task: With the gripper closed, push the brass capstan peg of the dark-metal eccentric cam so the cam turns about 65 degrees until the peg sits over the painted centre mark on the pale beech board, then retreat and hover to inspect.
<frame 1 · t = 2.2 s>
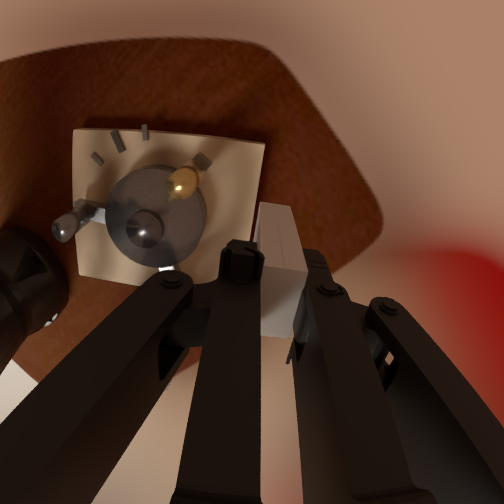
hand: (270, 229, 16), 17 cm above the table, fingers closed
stand: (160, 211, 34), on the table
cam capstan: (153, 218, 28), point 6 cm above the table, hinge at 0.0°
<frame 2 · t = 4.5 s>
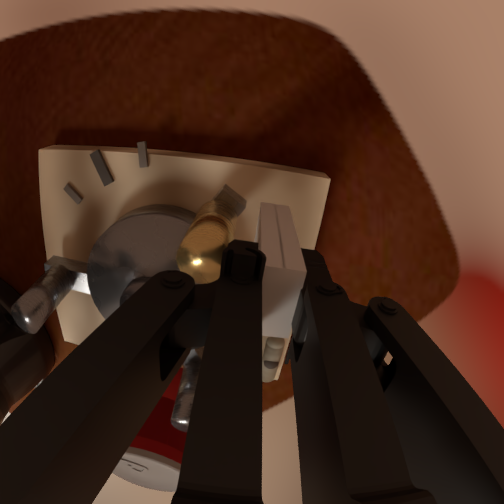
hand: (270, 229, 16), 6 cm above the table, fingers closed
stand: (168, 266, 24), on the table
cam capstan: (159, 293, 18), point 6 cm above the table, hinge at 3.2°, touching gripper
canned food: (169, 380, 30), on the table
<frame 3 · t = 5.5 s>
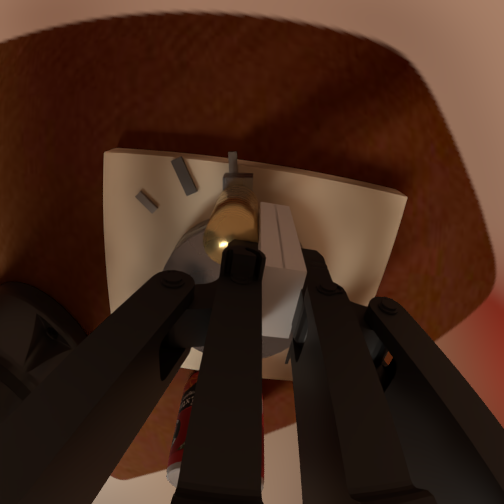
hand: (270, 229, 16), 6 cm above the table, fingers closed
stand: (240, 277, 24), on the table
cam capstan: (236, 301, 18), point 6 cm above the table, hinge at 42.5°, touching gripper
canned food: (224, 388, 30), on the table
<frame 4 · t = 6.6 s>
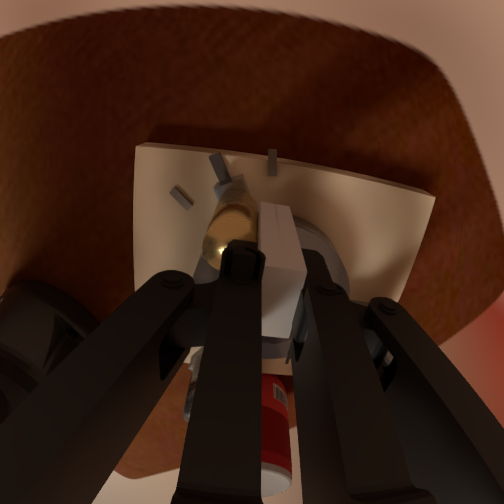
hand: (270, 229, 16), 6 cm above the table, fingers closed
stand: (271, 274, 24), on the table
cam capstan: (266, 300, 18), point 6 cm above the table, hinge at 62.1°, touching gripper
canned food: (246, 386, 30), on the table
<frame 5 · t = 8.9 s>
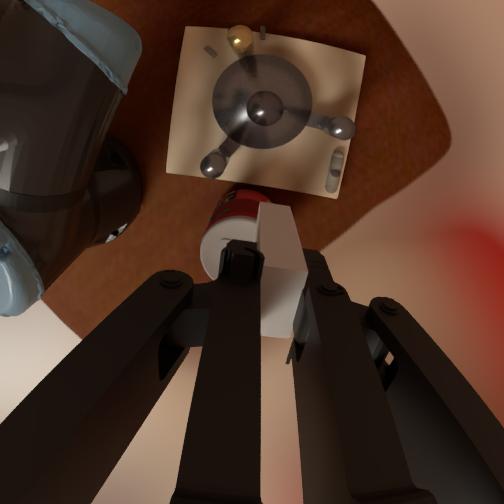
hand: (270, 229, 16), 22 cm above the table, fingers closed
stand: (264, 108, 34), on the table
cam capstan: (259, 91, 28), point 6 cm above the table, hinge at 61.9°
canned food: (246, 216, 40), on the table
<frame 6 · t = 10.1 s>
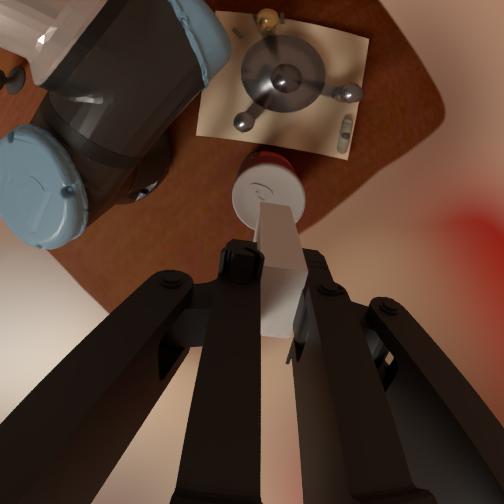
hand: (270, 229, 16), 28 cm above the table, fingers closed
stand: (282, 82, 37), on the table
sundae: (16, 80, 36), on the table
cam capstan: (281, 64, 31), point 6 cm above the table, hinge at 61.9°
canned food: (266, 177, 43), on the table
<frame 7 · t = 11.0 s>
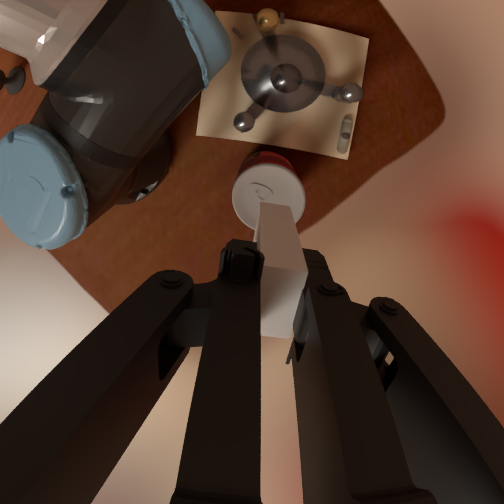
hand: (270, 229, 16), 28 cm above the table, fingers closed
stand: (282, 81, 37), on the table
sundae: (16, 80, 36), on the table
cam capstan: (281, 64, 31), point 6 cm above the table, hinge at 61.9°
canned food: (266, 177, 43), on the table
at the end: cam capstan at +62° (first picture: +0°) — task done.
